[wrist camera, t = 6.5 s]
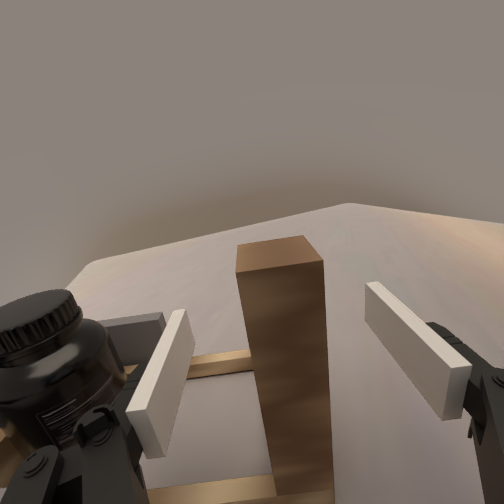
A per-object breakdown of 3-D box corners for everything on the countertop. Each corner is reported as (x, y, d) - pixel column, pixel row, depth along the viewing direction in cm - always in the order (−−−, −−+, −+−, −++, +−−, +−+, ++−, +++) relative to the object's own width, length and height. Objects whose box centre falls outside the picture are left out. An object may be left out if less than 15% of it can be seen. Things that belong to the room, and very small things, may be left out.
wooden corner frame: (-48, 552, 14) (-278, 347, 9) (77, 385, 24) (5, 247, 19) (335, 505, 13) (322, 259, 8) (295, 355, 24) (279, 205, 19)
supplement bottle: (26, 462, 18) (-72, 328, 14) (114, 388, 23) (63, 275, 19) (67, 523, 14) (-48, 366, 10) (161, 419, 20) (109, 288, 16)
